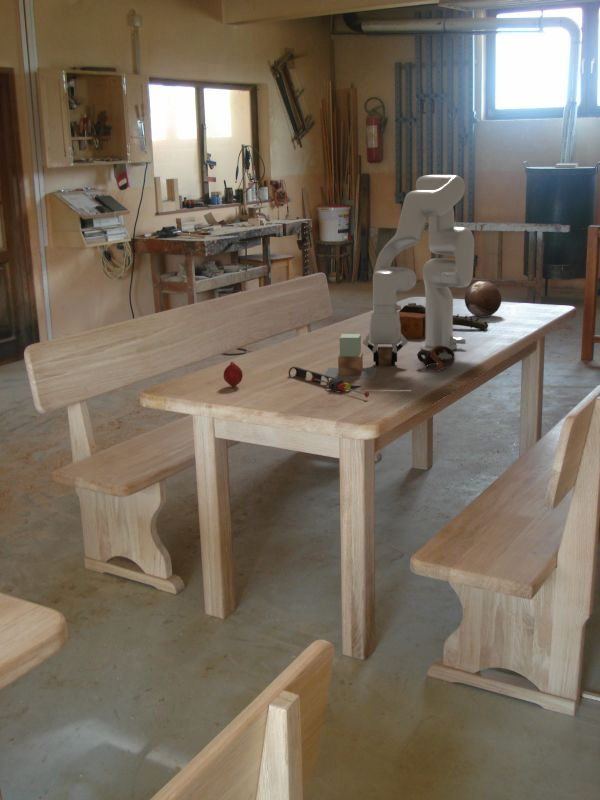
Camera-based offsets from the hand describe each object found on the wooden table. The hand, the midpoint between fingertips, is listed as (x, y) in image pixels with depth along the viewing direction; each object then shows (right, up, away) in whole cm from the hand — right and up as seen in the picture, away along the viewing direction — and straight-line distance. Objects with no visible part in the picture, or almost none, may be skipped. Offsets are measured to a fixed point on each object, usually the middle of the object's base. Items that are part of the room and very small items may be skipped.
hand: (385, 363), depth 309 cm
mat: (-12, -4, -10) cm, 16 cm away
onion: (-48, -8, -21) cm, 53 cm away
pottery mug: (+16, -2, -5) cm, 17 cm away
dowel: (0, -1, 0) cm, 1 cm away
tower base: (-12, -3, -10) cm, 16 cm away
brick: (+11, +12, +49) cm, 52 cm away
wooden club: (+26, +16, +61) cm, 68 cm away
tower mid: (-12, +2, -11) cm, 17 cm away
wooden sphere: (+48, +22, +81) cm, 97 cm away
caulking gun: (-18, -9, -24) cm, 31 cm away
